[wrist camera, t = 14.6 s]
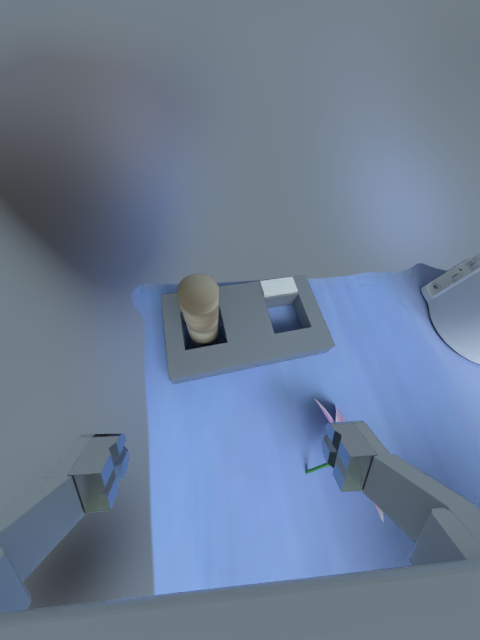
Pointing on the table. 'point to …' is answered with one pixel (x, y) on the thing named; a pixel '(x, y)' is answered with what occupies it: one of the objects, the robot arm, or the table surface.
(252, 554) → the table surface
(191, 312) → the peg
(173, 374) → the socket deck
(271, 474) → the table surface
